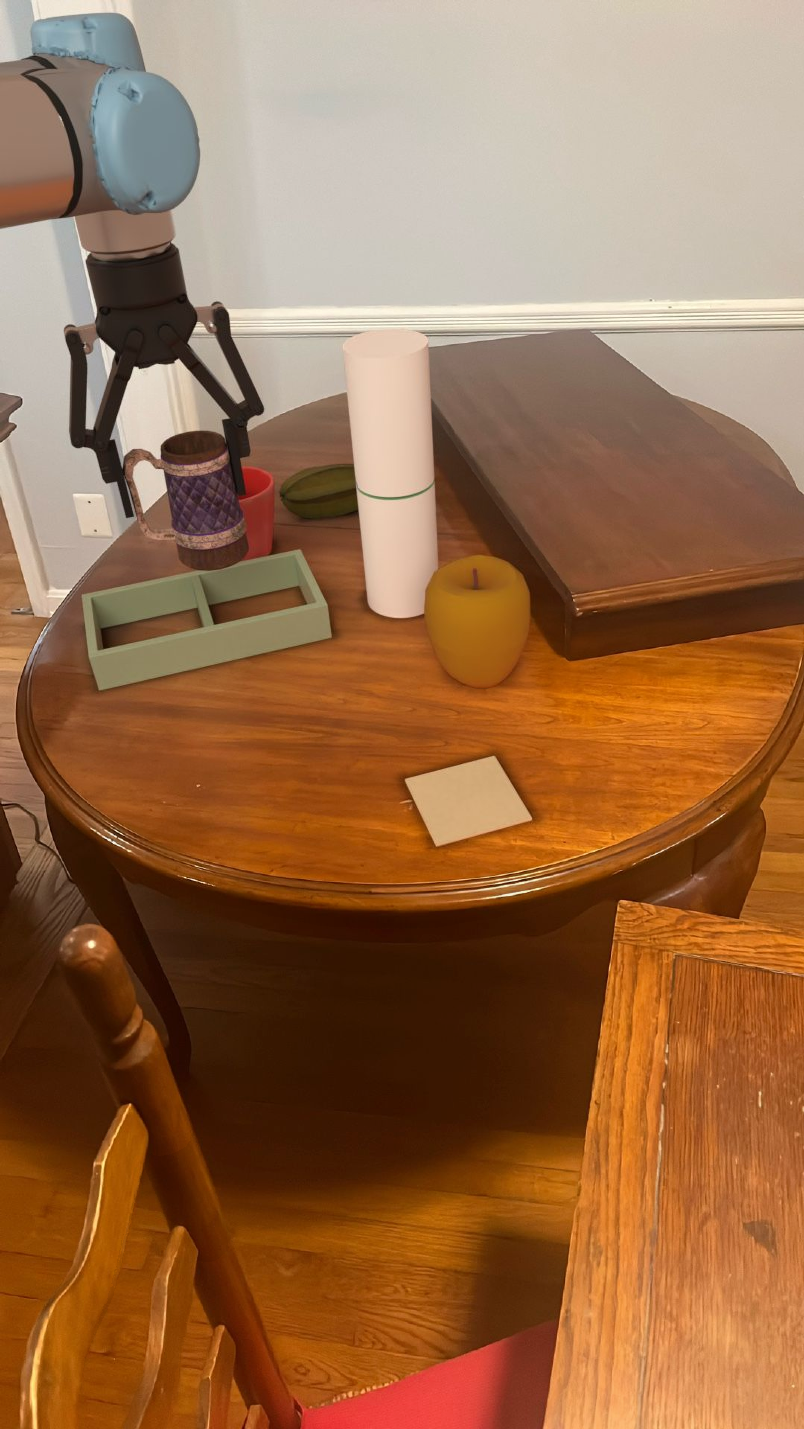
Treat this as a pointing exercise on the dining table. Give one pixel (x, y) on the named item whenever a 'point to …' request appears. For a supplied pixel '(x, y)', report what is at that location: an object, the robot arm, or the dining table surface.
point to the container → (393, 466)
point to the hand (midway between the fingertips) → (184, 500)
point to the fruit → (321, 491)
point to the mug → (196, 500)
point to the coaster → (467, 800)
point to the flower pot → (258, 511)
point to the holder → (203, 619)
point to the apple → (478, 618)
